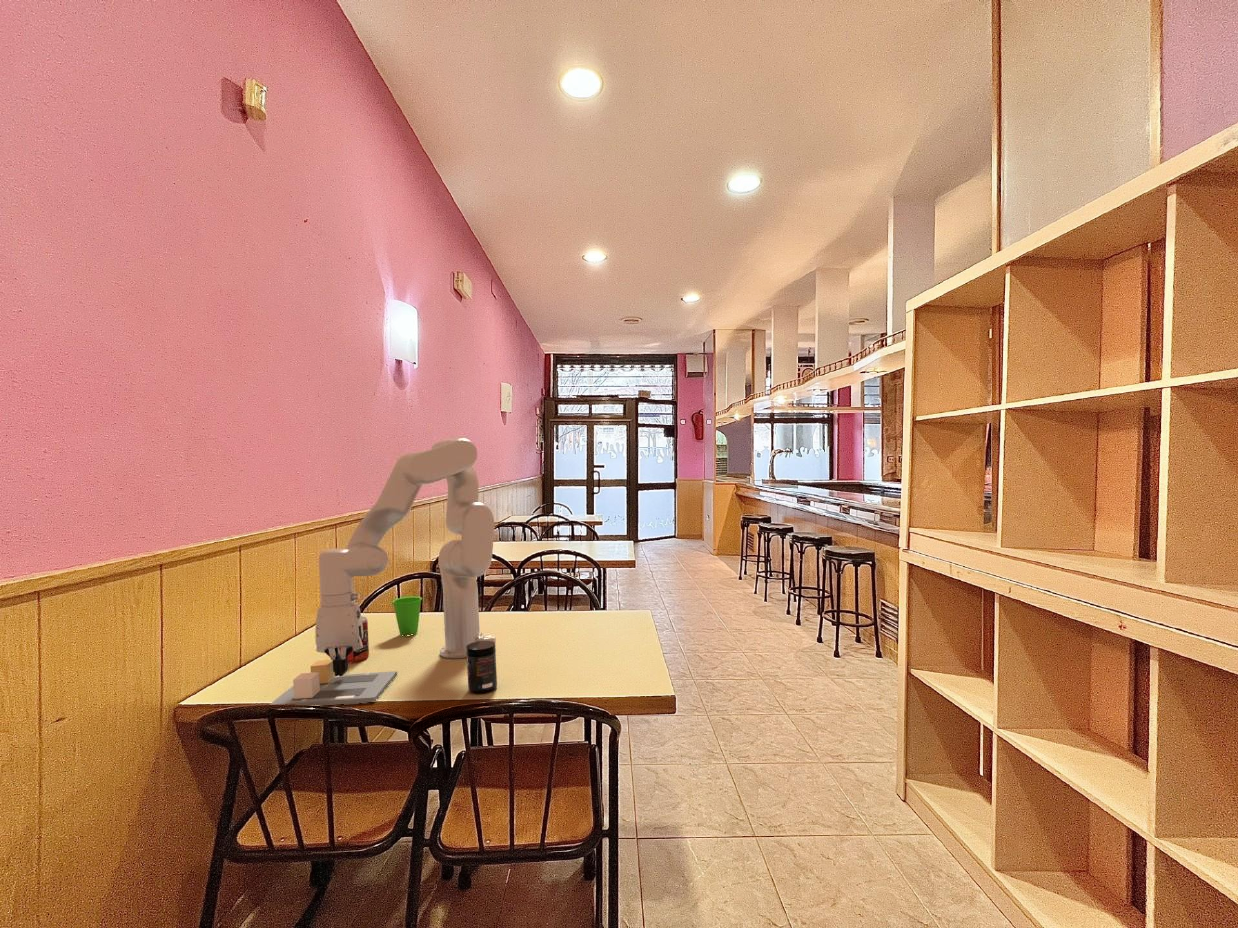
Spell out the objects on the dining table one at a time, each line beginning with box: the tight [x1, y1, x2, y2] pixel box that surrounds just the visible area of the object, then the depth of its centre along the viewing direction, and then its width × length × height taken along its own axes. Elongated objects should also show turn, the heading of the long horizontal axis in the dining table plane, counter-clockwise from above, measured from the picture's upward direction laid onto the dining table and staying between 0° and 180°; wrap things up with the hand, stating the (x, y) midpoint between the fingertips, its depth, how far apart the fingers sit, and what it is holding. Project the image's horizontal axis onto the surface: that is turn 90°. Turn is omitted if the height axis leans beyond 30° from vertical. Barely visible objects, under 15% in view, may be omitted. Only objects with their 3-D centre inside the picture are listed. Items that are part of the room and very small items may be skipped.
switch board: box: [269, 670, 398, 706], centre depth 144 cm, size 23×17×1 cm
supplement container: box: [466, 641, 498, 695], centre depth 141 cm, size 7×7×10 cm
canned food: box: [338, 615, 370, 664], centre depth 168 cm, size 8×8×11 cm
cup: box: [391, 596, 423, 637], centre depth 191 cm, size 9×9×11 cm
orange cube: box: [310, 659, 335, 684], centre depth 148 cm, size 4×4×4 cm
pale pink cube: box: [292, 672, 320, 699], centre depth 139 cm, size 4×4×4 cm
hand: (340, 674), depth 148 cm, fingers closed
